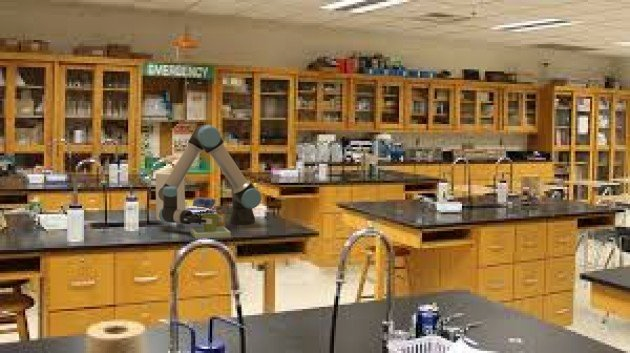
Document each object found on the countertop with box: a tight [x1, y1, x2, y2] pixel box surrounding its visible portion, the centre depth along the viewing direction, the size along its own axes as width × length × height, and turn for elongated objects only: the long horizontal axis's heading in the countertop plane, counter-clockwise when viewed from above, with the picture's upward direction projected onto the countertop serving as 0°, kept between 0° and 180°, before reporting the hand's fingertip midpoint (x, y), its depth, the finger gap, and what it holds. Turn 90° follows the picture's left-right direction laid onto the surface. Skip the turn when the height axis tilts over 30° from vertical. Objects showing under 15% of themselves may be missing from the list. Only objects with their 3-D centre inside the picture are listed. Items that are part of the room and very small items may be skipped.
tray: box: [189, 226, 232, 241], centre depth 364 cm, size 18×18×3 cm
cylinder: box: [155, 172, 186, 222], centre depth 420 cm, size 17×17×28 cm
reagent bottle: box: [216, 205, 226, 228], centre depth 380 cm, size 6×6×13 cm
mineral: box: [191, 196, 216, 210], centre depth 445 cm, size 14×10×10 cm, turn 119°
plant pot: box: [201, 213, 219, 232], centre depth 363 cm, size 9×9×9 cm
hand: (217, 220), depth 361 cm, fingers closed on plant pot, 8 cm apart
